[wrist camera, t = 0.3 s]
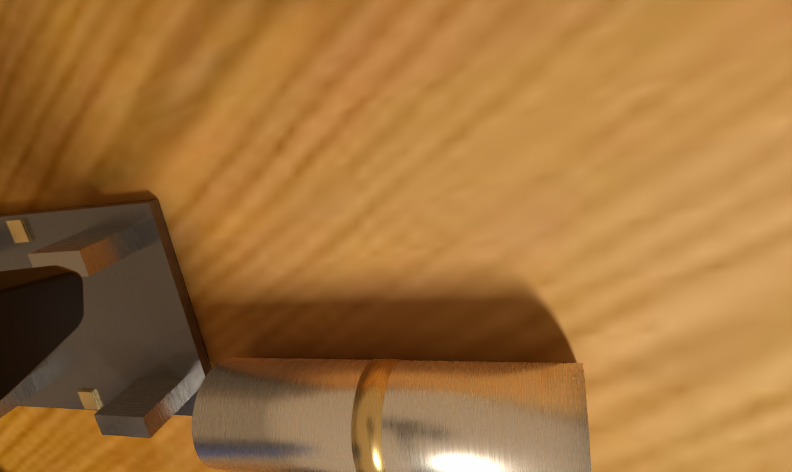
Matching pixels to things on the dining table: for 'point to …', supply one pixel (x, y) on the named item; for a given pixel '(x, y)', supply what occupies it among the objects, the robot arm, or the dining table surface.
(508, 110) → the dining table surface
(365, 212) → the dining table surface
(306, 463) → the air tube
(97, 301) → the collar cradle
